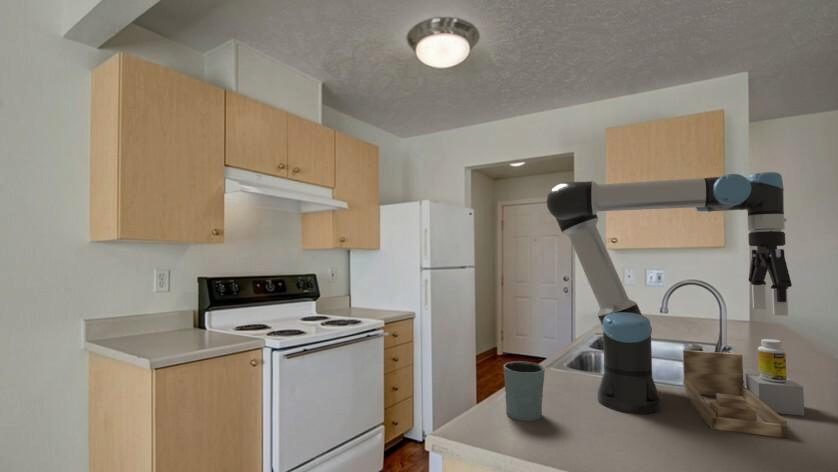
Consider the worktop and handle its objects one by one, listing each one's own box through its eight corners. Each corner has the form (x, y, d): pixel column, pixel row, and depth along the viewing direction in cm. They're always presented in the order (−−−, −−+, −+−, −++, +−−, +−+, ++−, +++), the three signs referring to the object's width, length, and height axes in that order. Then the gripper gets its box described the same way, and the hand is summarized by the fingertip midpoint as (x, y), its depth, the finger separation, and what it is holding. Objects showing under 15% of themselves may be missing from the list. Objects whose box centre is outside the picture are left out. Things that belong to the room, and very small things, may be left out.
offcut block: (719, 406, 98) (719, 397, 98) (716, 401, 101) (716, 393, 101) (746, 409, 96) (745, 400, 96) (742, 404, 99) (742, 396, 99)
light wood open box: (711, 428, 96) (709, 375, 97) (684, 391, 122) (682, 349, 123) (787, 438, 91) (785, 381, 92) (742, 397, 117) (740, 353, 117)
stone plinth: (759, 411, 107) (758, 383, 107) (746, 399, 115) (745, 373, 115) (804, 415, 103) (803, 387, 104) (787, 403, 112) (786, 377, 112)
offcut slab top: (718, 418, 97) (717, 407, 97) (710, 412, 101) (710, 401, 101) (756, 421, 95) (756, 410, 95) (747, 414, 99) (746, 404, 99)
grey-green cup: (518, 404, 112) (517, 359, 113) (553, 414, 105) (552, 366, 106) (496, 414, 105) (495, 366, 106) (532, 426, 98) (531, 374, 98)
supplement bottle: (775, 383, 106) (773, 343, 107) (753, 377, 112) (751, 338, 112) (792, 382, 108) (790, 341, 108) (769, 376, 113) (768, 337, 113)
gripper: (807, 228, 98) (811, 319, 98) (764, 233, 122) (767, 306, 121) (767, 229, 101) (771, 317, 100) (733, 233, 124) (736, 305, 124)
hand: (769, 311), depth 111 cm, fingers open, 13 cm apart
